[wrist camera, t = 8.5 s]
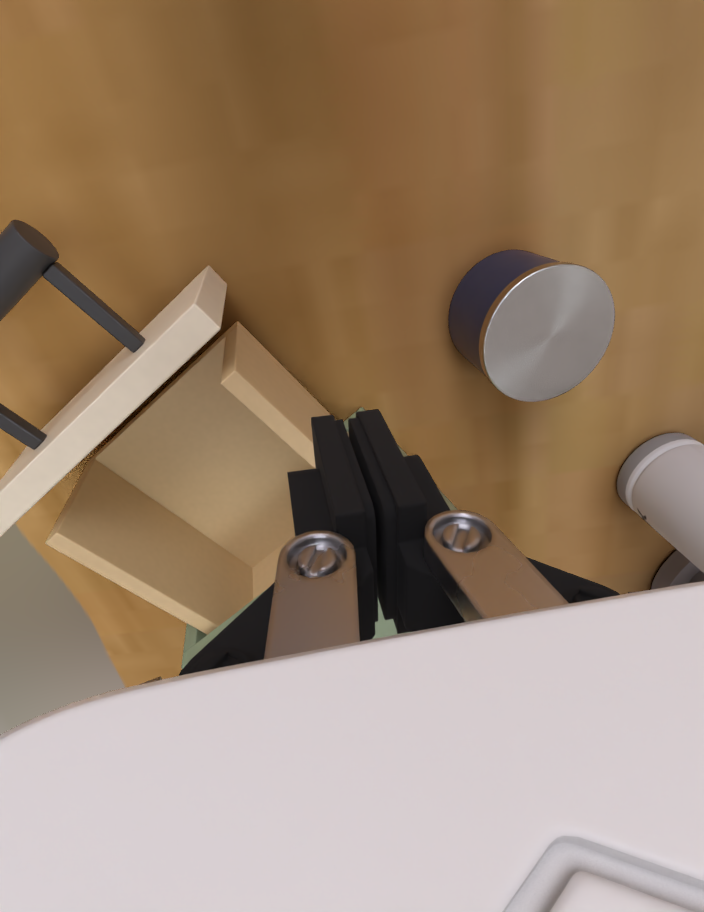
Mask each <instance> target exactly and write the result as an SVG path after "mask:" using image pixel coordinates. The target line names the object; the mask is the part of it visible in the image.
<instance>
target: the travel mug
mask: <svg viewBox="0 0 704 912" xmlns="http://www.w3.org/2000/svg"><path fill="white" fill-rule="evenodd" d="M617 491H618V494H619V497H620V498H621V499H622V501H623V502H624V503H626V504H627V505H628V506H629V507H630V508H631V509H632V510H633V511H635V512H636V513H637V514H638V515H639V516H640V517H641V518H642V519H644V520H645V521H646V522H647V523H648V524H649V525H650V526H651V527H652V528H654V529H655V530H656V531H657V532H658V533H659V534H660V535H661V536H663V537H664V538H665V539H666V540H667V541H668V542H669V543H670V544H672V545H673V546H674V547H675V548H676V549H677V550H678V551H679V552H681V553H682V554H683V555H684V556H685V557H686V558H687V559H688V560H690V561H691V562H692V563H693V564H694V565H695V566H696V567H697V568H698V569H700V570H701V571H702V572H703V573H704V445H703V444H702V443H700V442H698V441H697V440H695V439H693V438H692V437H690V436H688V435H686V434H682V433H667V434H663V435H659V436H657V437H655V438H652V439H650V440H649V441H647V442H645V443H644V444H642V445H641V446H640V447H638V448H637V449H636V450H635V451H634V452H633V453H632V454H631V455H630V456H629V457H628V459H627V460H626V461H625V463H624V464H623V466H622V468H621V470H620V472H619V475H618V479H617Z"/></svg>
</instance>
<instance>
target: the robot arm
mask: <svg viewBox="0 0 704 912" xmlns="http://www.w3.org/2000/svg"><path fill="white" fill-rule="evenodd" d="M311 427H312V437H313V447H314V457H315V467H316V468H315V469H307V470H300V471H292V472H287V474H288V482H289V490H290V498H291V507H292V515H293V523H294V531H295V537H294V538H293V539H291V540H290V541H288V542H287V543H286V544H285V545H284V547H283V548H282V549H281V551H280V554H279V557H278V563H277V570H276V577H275V582H274V583H273V584H272V585H271V586H270V587H269V588H268V589H267V590H266V591H265V592H264V593H262V594H261V595H260V596H259V597H258V598H257V599H256V600H255V601H254V602H253V603H252V604H250V605H249V606H248V607H247V608H246V609H245V610H244V611H243V612H242V613H241V614H240V615H239V616H237V617H236V618H235V619H234V620H233V621H232V622H231V623H230V624H229V625H228V626H227V627H226V628H224V629H223V630H222V631H221V632H220V633H219V634H218V635H217V636H216V637H215V638H214V639H212V640H211V641H210V642H209V643H208V644H207V645H206V646H205V647H204V648H203V649H202V650H201V651H199V652H198V653H197V654H196V655H195V656H194V657H193V658H192V659H191V660H190V661H189V662H188V663H187V664H186V666H185V667H184V668H183V669H182V670H181V672H180V674H179V676H176V677H172V678H167V679H163V680H162V678H161V677H158V678H155V679H153V680H150V681H147V682H145V683H142V684H139V685H136V686H131V687H127V688H122V689H118V690H114V691H110V692H106V693H103V694H100V695H96V696H94V697H90V698H87V699H83V700H80V701H77V702H74V703H71V704H68V705H65V706H63V707H60V708H58V709H55V710H53V711H50V712H48V713H45V714H42V715H40V716H37V717H35V718H32V719H30V720H28V721H27V722H24V723H22V724H20V725H18V726H16V727H14V728H12V729H10V730H9V731H6V732H4V733H2V734H0V912H704V581H702V582H695V583H687V584H681V585H676V586H670V587H665V588H659V589H652V590H646V591H640V592H628V594H622V595H620V594H619V593H617V592H616V591H613V590H611V589H609V588H607V587H605V586H603V585H600V584H597V583H595V582H592V581H589V580H586V579H584V578H581V577H578V576H576V575H573V574H570V573H567V572H565V571H562V570H559V569H557V568H554V567H551V566H549V565H546V564H543V563H540V562H538V561H535V560H532V559H530V558H527V557H525V556H524V555H523V554H522V553H521V552H520V551H519V550H518V549H517V548H516V546H515V545H514V544H513V543H512V542H511V541H510V540H509V539H508V538H507V537H506V536H505V535H504V534H503V533H502V532H501V531H500V529H499V528H498V527H497V526H496V525H495V524H494V523H493V522H491V521H490V520H489V519H488V518H486V517H484V516H482V515H480V514H477V513H474V512H470V511H465V510H450V508H449V507H448V505H447V503H446V502H445V500H444V498H443V496H442V495H441V493H440V491H439V489H438V488H437V486H436V484H435V482H434V481H433V479H432V477H431V476H430V474H429V472H428V470H427V469H426V467H425V465H424V463H423V462H422V460H421V458H420V457H419V456H418V455H412V456H405V457H403V455H402V453H401V451H400V449H399V447H398V445H397V443H396V441H395V440H394V438H393V436H392V434H391V432H390V430H389V428H388V426H387V424H386V422H385V420H384V419H383V417H382V415H381V413H380V411H379V410H378V409H376V410H368V411H359V412H356V418H349V419H348V429H349V436H348V433H347V431H346V428H345V425H344V422H343V420H342V419H341V420H335V419H334V416H333V415H326V416H318V417H311ZM378 599H379V603H380V606H381V610H382V613H383V616H384V619H385V620H390V619H393V621H394V624H395V627H396V630H397V633H398V635H392V636H387V637H381V638H376V639H372V638H373V637H374V636H375V622H378ZM406 632H409V633H406ZM401 633H403V634H401Z"/></svg>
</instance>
